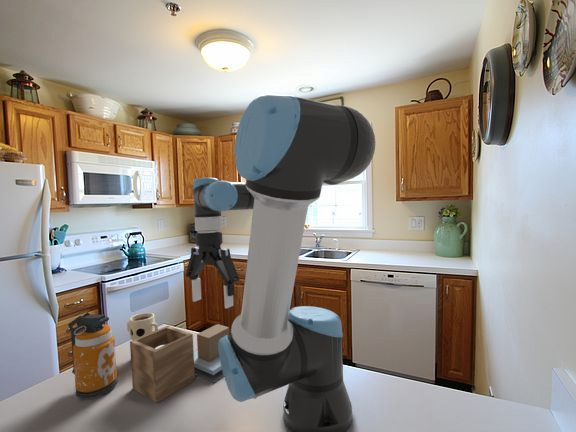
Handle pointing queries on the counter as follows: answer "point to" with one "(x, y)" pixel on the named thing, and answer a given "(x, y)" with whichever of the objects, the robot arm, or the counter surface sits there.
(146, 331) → the character mug
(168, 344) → the box
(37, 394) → the counter surface
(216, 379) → the mat
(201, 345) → the lid
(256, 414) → the counter surface
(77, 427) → the counter surface
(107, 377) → the canister
